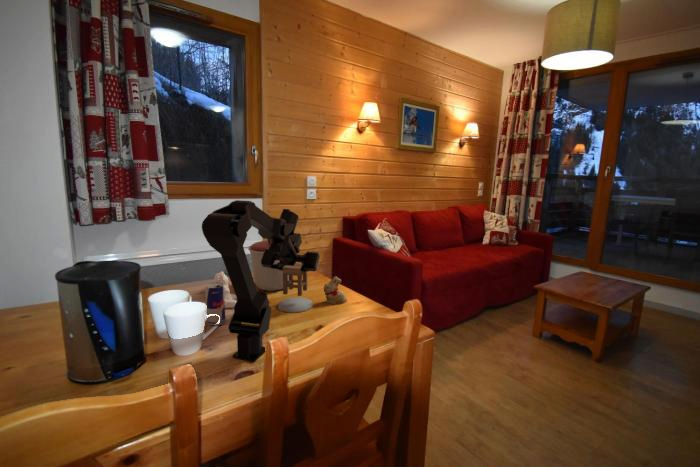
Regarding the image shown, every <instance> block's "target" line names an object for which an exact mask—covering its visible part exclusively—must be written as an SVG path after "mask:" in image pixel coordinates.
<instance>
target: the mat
mask: <svg viewBox="0 0 700 467" xmlns="http://www.w3.org/2000/svg"><path fill="white" fill-rule="evenodd" d="M313 305H314V302H313V301H312V300H311V299H308V298H305V297H300V296H297V297H289V298H284V299H282V300H280V301H279V302H278V304H277V308H278V309H279V310H280V311H282V312H285V313H290V314H291V313H294V314H297V313H298V314H299V313H303V312H306V311H309V310H312V308H313V307H314V306H313Z"/></svg>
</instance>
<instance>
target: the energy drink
mask: <svg viewBox="0 0 700 467" xmlns="http://www.w3.org/2000/svg"><path fill="white" fill-rule="evenodd" d="M204 287H205V288H204V294H205V295H204V296H205V297H204V298H205V306H206V305H207V315H209V314H217V315H219V316H220V323H219V325H223V324H224V323H225V322H226V321H227V320H226V318H227V317H226V308H225V298H224V286H223V283H220V282H209V283H207V284H206V285H205V286H204ZM218 320H219V317H218V316H216V315H215V316H210V317H208V318H207V317H206V324H207V325H208V326H211V325H215V324H216V323H217V322H218ZM219 325H218V326H219Z"/></svg>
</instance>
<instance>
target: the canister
mask: <svg viewBox="0 0 700 467" xmlns="http://www.w3.org/2000/svg"><path fill="white" fill-rule="evenodd" d="M270 244H271V243H270V239H266V240H261V241H256V242H255V243H252V244H251V245H250V246H248V247H247V249H248V251H249V254H250V260H251V267H252V273H253V274H252V276H253V280H254V283H255V286H256V288H258V289H259V290H260V291H264V292H266V291H269V292H270V291H271V292H273V291H279V290H283V271H281V270H277V269H272V268H269V267H263V266H262V264H261V258H262V256H263V253H264V250H265V249H267V248H269V247H270ZM288 281H289V275H288Z"/></svg>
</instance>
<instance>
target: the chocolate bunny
mask: <svg viewBox="0 0 700 467" xmlns="http://www.w3.org/2000/svg"><path fill="white" fill-rule="evenodd" d="M341 283H342V279H341V278H339V277H338V276H336V275H335V276H333V277H332V279H331V280H330V281H329V282H327V283H325V284H324V286H323V292H324V295H325V298H326V299H325V303H326V304H330V305H342V304H345V303H347V302H348V298H347V297H346V295H345V293H344V292H343V291H342V290H340V289H339V285H340V284H341Z"/></svg>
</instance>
